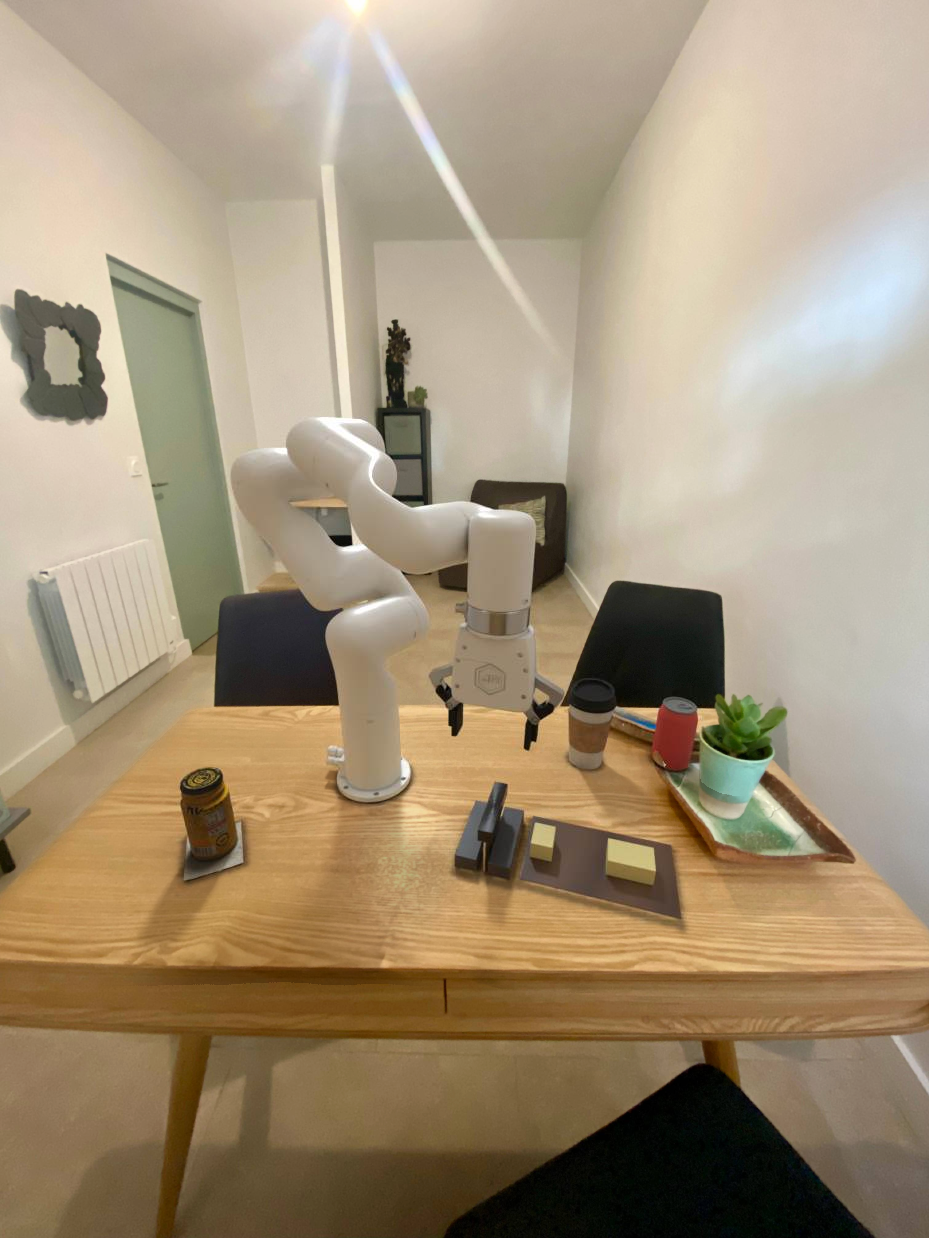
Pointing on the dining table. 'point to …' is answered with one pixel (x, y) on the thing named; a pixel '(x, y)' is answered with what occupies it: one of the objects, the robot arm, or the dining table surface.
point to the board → (601, 869)
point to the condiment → (209, 824)
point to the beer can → (675, 732)
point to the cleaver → (491, 819)
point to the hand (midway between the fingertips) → (491, 737)
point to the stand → (502, 846)
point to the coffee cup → (589, 721)
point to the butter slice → (542, 842)
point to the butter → (630, 861)
